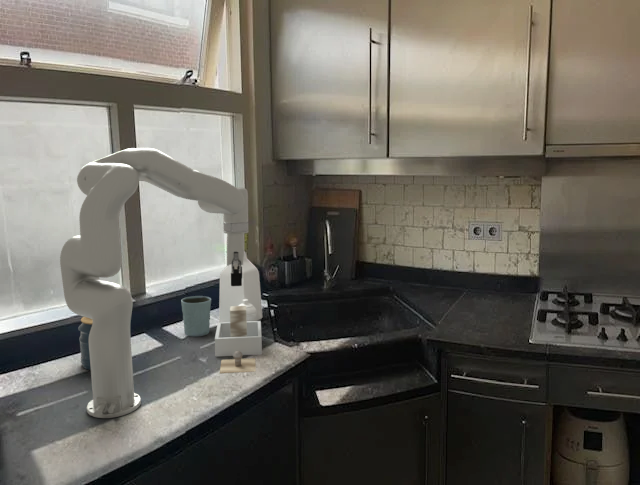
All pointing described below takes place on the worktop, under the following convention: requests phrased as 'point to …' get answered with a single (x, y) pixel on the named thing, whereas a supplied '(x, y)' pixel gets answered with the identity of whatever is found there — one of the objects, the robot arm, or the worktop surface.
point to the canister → (85, 341)
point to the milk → (239, 290)
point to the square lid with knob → (238, 364)
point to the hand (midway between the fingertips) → (236, 282)
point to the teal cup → (196, 315)
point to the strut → (238, 321)
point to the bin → (238, 340)
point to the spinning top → (249, 310)
